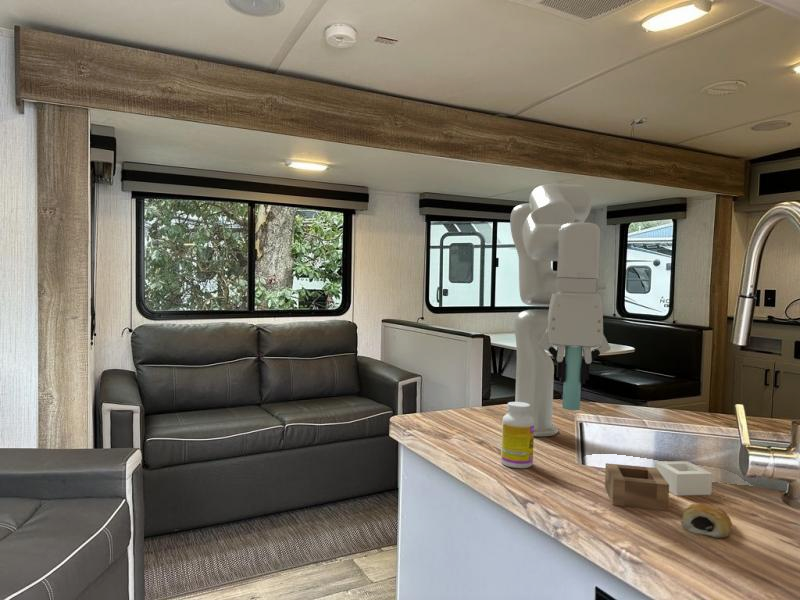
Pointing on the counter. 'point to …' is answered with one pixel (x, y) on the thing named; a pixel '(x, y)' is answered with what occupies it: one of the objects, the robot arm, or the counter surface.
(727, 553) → the counter surface
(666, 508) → the brown square wooden frame
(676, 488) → the white square holed block
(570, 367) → the dowel
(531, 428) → the supplement bottle
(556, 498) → the counter surface
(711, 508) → the pastry
